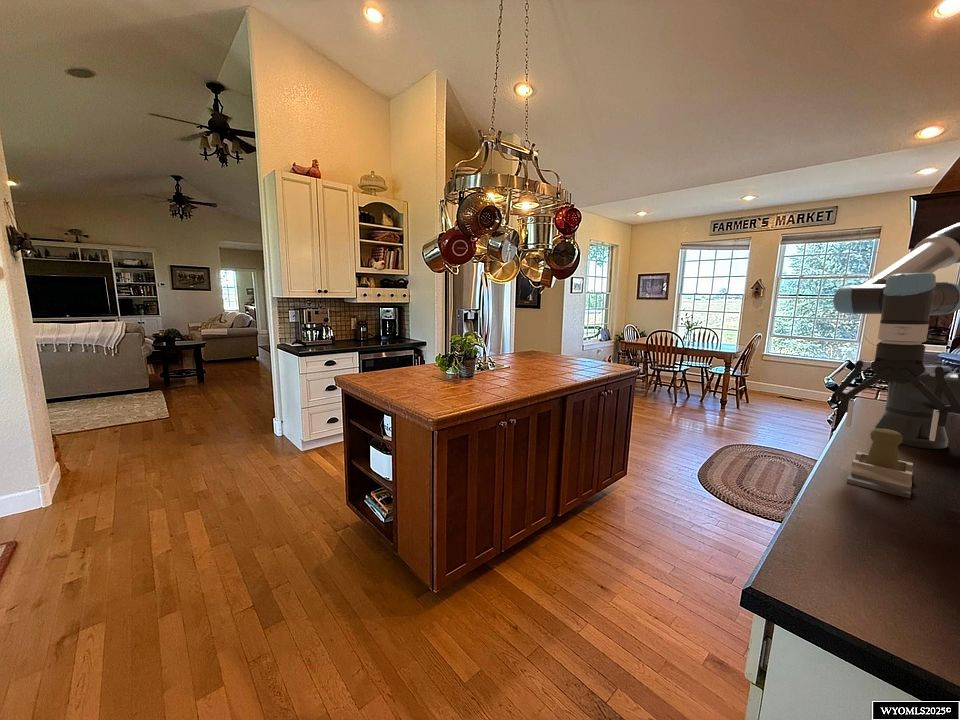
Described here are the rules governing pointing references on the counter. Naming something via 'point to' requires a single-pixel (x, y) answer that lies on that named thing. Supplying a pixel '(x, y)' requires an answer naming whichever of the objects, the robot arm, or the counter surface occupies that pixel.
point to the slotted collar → (881, 476)
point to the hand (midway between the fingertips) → (887, 432)
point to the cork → (884, 448)
